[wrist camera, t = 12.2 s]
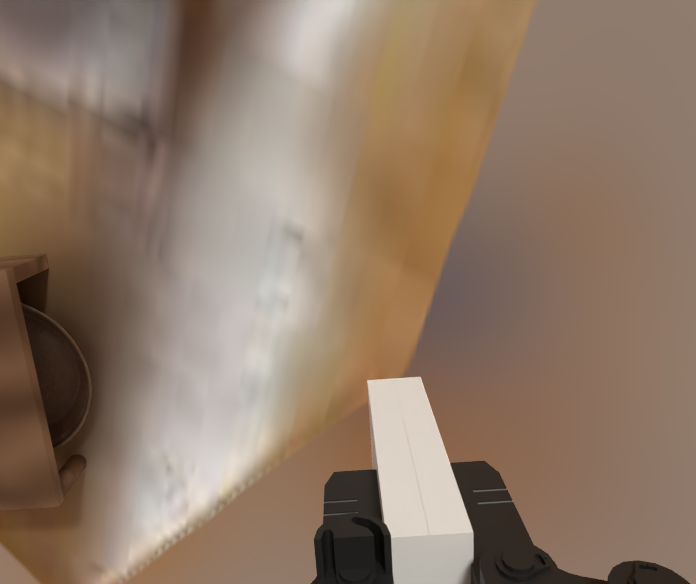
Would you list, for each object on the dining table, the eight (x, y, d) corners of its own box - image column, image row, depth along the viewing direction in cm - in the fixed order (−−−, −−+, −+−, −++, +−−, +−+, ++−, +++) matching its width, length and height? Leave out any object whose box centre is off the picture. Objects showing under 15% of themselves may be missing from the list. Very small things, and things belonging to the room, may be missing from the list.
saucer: (81, 464, 53) (67, 481, 50) (-81, 414, 52) (-104, 429, 49) (122, 322, 50) (109, 332, 47) (-51, 264, 48) (-73, 271, 45)
